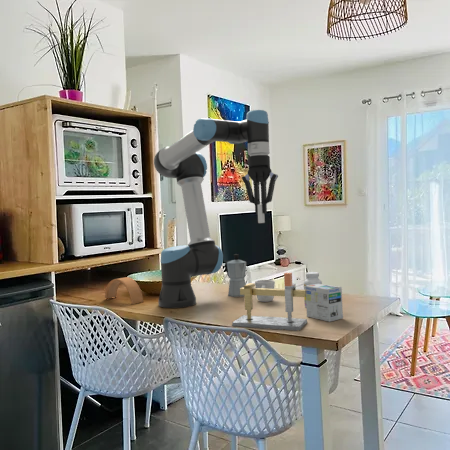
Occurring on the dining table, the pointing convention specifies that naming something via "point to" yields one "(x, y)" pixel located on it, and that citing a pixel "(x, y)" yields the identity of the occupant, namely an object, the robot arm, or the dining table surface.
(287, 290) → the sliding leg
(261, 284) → the cup
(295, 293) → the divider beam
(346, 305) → the dining table surface
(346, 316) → the dining table surface
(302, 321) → the bolt plate
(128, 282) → the arch
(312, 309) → the light bulb box
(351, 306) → the dining table surface
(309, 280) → the supplement bottle
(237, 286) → the coffee maker
